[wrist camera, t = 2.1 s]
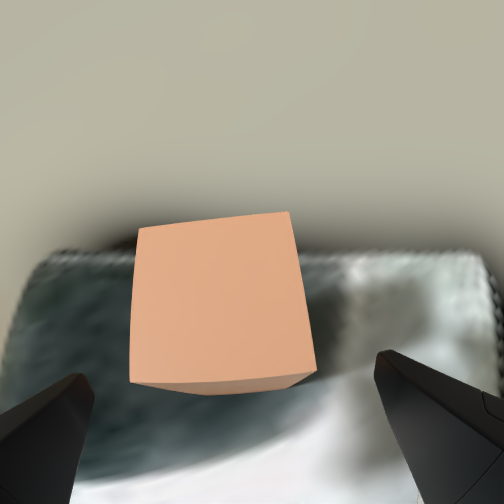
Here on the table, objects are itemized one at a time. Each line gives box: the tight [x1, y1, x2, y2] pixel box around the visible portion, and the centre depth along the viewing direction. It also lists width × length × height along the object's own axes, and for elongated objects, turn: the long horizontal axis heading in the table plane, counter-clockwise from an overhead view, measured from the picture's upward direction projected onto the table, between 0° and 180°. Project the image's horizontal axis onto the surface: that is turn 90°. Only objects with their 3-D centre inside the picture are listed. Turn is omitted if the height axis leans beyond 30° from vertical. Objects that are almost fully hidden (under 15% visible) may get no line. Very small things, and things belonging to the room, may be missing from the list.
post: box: [130, 212, 317, 395], centre depth 13 cm, size 5×5×11 cm
